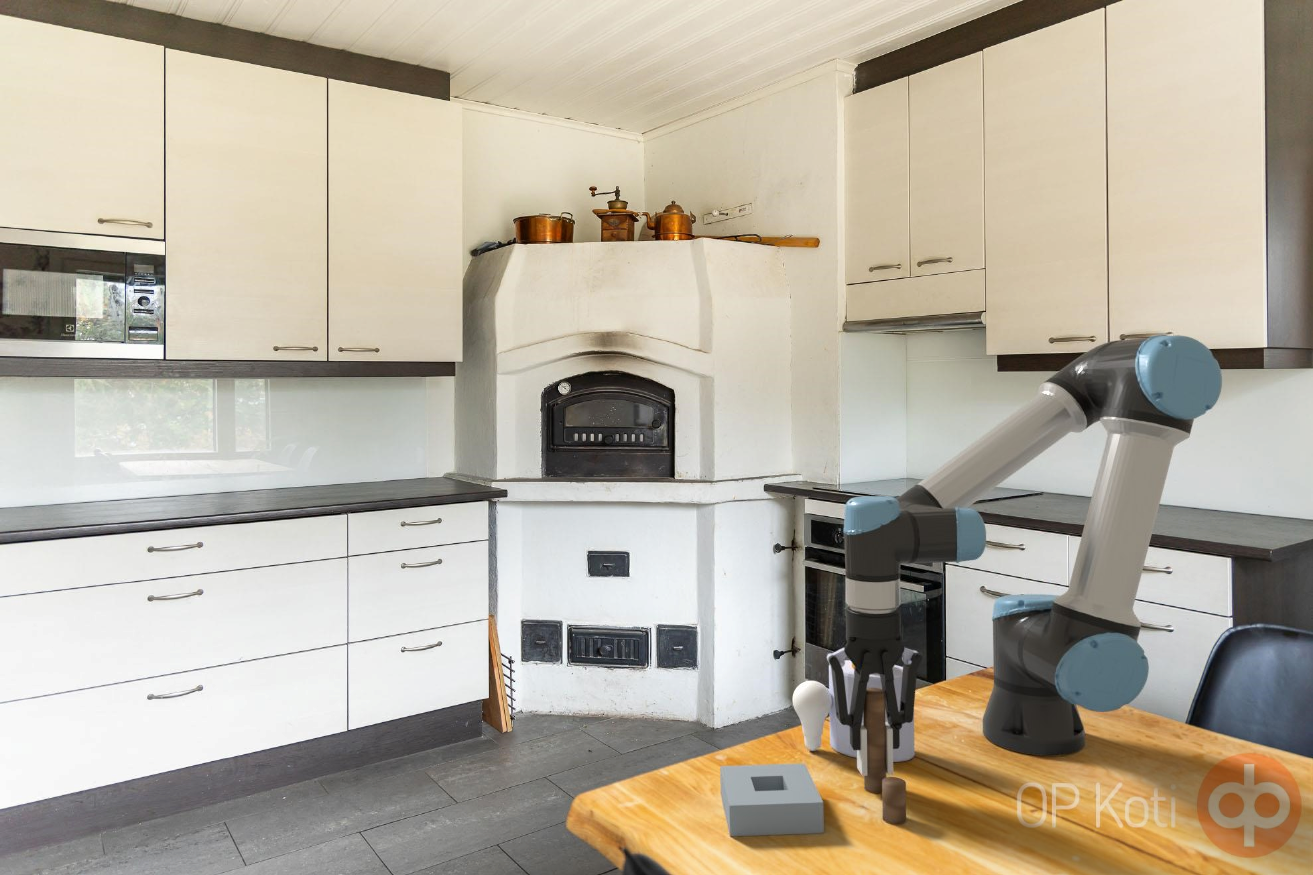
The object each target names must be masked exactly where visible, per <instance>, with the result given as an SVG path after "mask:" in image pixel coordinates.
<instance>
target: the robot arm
mask: <svg viewBox="0 0 1313 875" xmlns="http://www.w3.org/2000/svg"><path fill="white" fill-rule="evenodd" d="M1222 375H1223V374H1222V370H1221V367H1220V364H1219V362H1218V360H1217V359H1216V358H1215V357H1214V355H1213V352H1212V351H1211V350H1210V349H1209V347H1207V346H1206V345H1205V344H1204V343H1203V342H1201V341H1199V340H1198V339H1196V338H1193V337H1190V336H1186V335H1167V334H1156V335H1152V336H1149V337H1141V338H1134V339H1133V338H1132V339H1125V340H1124V339H1123V340H1122V339H1120V340H1111V341H1109V342H1104V343H1102V344H1100V345H1097V346H1095V347H1094V348H1092V349H1090V350H1087V351H1086V352H1084V353H1083V354H1081V355H1080V356H1079V357H1077V358H1076V359H1074V360H1073V361H1071V362H1069V363H1068V364H1067V365H1066V366H1064V367H1063V368H1061V369H1060V370H1059V371H1058V372H1056V373H1054V374H1053V375H1052V376H1051V377H1049V378H1048V379H1047V380H1045V381H1044V382H1043V383H1042V384H1040V385H1039V387H1038V389H1037V390H1038V392H1037V395H1036V396H1034V397H1033V398H1032V399H1031V400H1029V401H1028V402H1026V403H1025V404H1024V405H1022V406H1021V407H1019V408H1018V409H1017V410H1016V411H1014V412H1012V413H1011V414H1010V415H1009V416H1007V417H1006V418H1005V419H1003V420H1002V421H1001V422H999V423H998V424H996V425H995V426H994V427H993V428H991V429H990V430H989V431H987V432H986V433H984V434H983V435H982V436H980V437H978V439H977V440H975V441H974V442H972V443H971V444H970V445H968V446H966V448H965V449H963V450H961V451H960V452H959V453H957V454H955V456H953V457H951V459H950V460H948V461H947V462H945V463H944V464H942V465H941V466H940V467H939V468H937V469H935V470H934V471H932V473H931V474H929V475H928V476H927V477H925V478H924V479H923V480H921V481H919V482H918V483H916V484H915V485H913V486H912V487H910V488H909V489H908V490H906V491H905V492H903V493H902V494H901V495H893V496H882V495H881V496H880V495H878V496H877V495H875V496H874V495H871V496H870V495H865V496H863V495H862V496H856V497H852V498H850V499H849V500H848V501H847V502H846V503H845V508H844V509H845V510H844V517H843V518H844V521H843V536H844V558H845V559H844V561H845V562H844V563H845V604H847V608H846V609H845V639H844V642H843V644H842V648H840V649H838V650H836V651H835V652H832V651H828V652H826V654H825V659H826V660H827V662H828V666H829V665H830V667H831V671H832V681H833V690H834V699H835V709H836V716H837V718H838V720H839V721H840V723H841V724H842V725H848V726H850V744H851V747H852V748H853V750H857V758H856V767H857V770H858V771H859V773H860V774H861V776H862V777H864V776H867V729H866V728H865V727H864V725H863V724H862V718H863V711H864V703H865V696H866V689H867V682H868V681H869V675H870V674H874V673H878V674H879V675H880V678H881V684H882V690H884V691H885V709H886V715H887V719H888V722H885V728H886V775H888V776H893V775H894V762H893V749H898V748H899V746H900V739H899V738H900V733H899V730H900V729H901V728H902V724H904V723H906V722H907V723H910V722H912V721H913V714H914V715H915V699H916V687H917V686H916V685H917V674H918V669H919V667H920V665H921V663H922V661H923V655H922V654H920V653H919V652H918V650H916V649H913V648H912V649H910V648H907V647H905V644H904V642H903V640H902V631H901V630H902V627H901V626H902V624H901V623H902V618H901V615H902V614H901V610H900V609H899V607H900V606H901V565H911V564H930V563H931V564H933V563H937V564H938V563H957V564H959V563H960V562H967V561H976V560H978V559H980V558H981V556H982V555H983V554H984V552H985V550H986V545H987V529H986V526H985V522H984V519H983V517H982V515H981V514H980V513H979V512H978V511H977V510H975V509H973V508H969V507H971V506H972V505H974V503H976V502H977V501H979V500H980V499H981V498H983V497H984V496H985V495H987V494H988V493H989V492H991V491H992V490H994V489H995V488H996V487H997V486H999V485H1000V484H1001V483H1003V482H1004V481H1005V480H1007V479H1009V478H1010V477H1011V476H1013V475H1014V474H1015V473H1017V472H1018V471H1019V470H1021V469H1022V468H1023V467H1024V466H1026V465H1027V464H1029V463H1030V462H1031V461H1032V460H1034V459H1035V458H1037V457H1039V456H1040V455H1041V454H1042V453H1044V452H1045V451H1046V450H1048V449H1049V448H1050V447H1052V446H1054V445H1055V444H1056V443H1057V442H1059V441H1060V440H1062V439H1063V438H1064V437H1066V436H1067V435H1068V434H1070V433H1082V432H1083V431H1085V430H1086V429H1088V428H1089V427H1091V426H1092V425H1093V424H1096V423H1097V422H1100V423H1101V425H1102V426H1103V428H1104V429H1105V431H1106V433H1107V437H1106V440H1105V444H1104V449H1103V451H1102V456H1101V458H1100V459H1101V460H1100V464H1099V468H1098V471H1097V475H1096V479H1095V482H1094V483H1095V484H1094V487H1093V490H1092V495H1091V499H1090V503H1089V507H1088V511H1087V515H1086V518H1085V522H1084V527H1083V529H1082V530H1083V531H1082V534H1081V538H1080V542H1079V545H1078V550H1077V554H1076V558H1075V562H1074V565H1073V569H1072V573H1071V577H1070V582H1069V585H1068V589H1067V591H1066V592H1065V593H1063V594H1061V595H1058V594H1039V593H1037V594H1036V593H1035V594H1034V593H1033V594H1032V593H1031V594H1028V593H1025V594H1010V595H1003V596H999V597H998V598H996V599H995V601H994V603H993V610H992V617H991V621H992V643H993V644H992V651H993V655H992V656H993V659H992V660H993V661H992V662H993V663H992V664H993V687H992V691H991V693H990V697H989V699H988V702H987V704H986V707H985V710H984V713H983V715H982V716H983V717H982V734H983V737H985V738H986V739H987V740H988V741H989V742H991V743H993V744H994V745H996V746H999V747H1001V748H1004V749H1007V750H1010V751H1013V752H1017V753H1020V754H1022V753H1023V754H1026V755H1027V754H1028V755H1035V756H1050V757H1051V756H1054V757H1055V756H1067V755H1072V754H1075V753H1077V752H1079V751H1082V750H1083V749H1084V747H1085V745H1086V730H1085V727H1084V726H1085V725H1083V721H1082V718H1081V715H1080V712H1079V709H1078V707H1080V708H1081V707H1082V708H1084V709H1085V710H1088V711H1092V712H1097V713H1108V712H1113V711H1117V710H1120V709H1122V707H1124V706H1125V705H1128V704H1130V703H1132V702H1133V701H1134V700H1135V699H1136V698H1138V696H1139V695H1140V694H1141V692H1142V691H1143V690H1144V688H1145V686H1146V683H1147V681H1148V677H1149V673H1150V672H1149V668H1150V666H1149V665H1150V664H1149V660H1148V657H1147V656H1146V655H1145V651H1144V648H1143V647H1142V646H1141V645H1140V644H1139V643H1138V640H1139V635H1140V631H1141V628H1142V623H1141V621H1140V619H1139V618H1138V617H1137V615H1136V613H1135V611H1134V605H1135V602H1136V597H1137V594H1138V589H1139V585H1140V581H1141V578H1142V575H1143V571H1144V570H1143V569H1144V567H1145V562H1146V558H1147V554H1148V550H1149V546H1150V542H1151V538H1152V534H1153V531H1154V528H1155V527H1154V526H1155V523H1156V519H1157V515H1158V511H1159V507H1160V503H1161V500H1162V496H1163V492H1164V489H1165V484H1166V480H1167V476H1168V473H1169V468H1170V464H1171V460H1172V457H1173V452H1174V448H1175V447H1176V446H1177V445H1178V444H1180V443H1182V442H1184V441H1186V440H1187V439H1189V438H1190V436H1191V432H1192V428H1193V424H1194V421H1195V419H1197V418H1199V417H1201V416H1203V415H1205V414H1206V413H1207V412H1208V411H1209V410H1212V409H1213V407H1214V406H1215V405H1216V404H1217V402H1218V400H1219V398H1220V396H1221V392H1222V388H1223V377H1222ZM846 658H848V660H850V661H851V662H852V663H853V665H854V666H855V669H854V684H853V691H852V698H851V706H850V713H849V714H848V709H847V700H846V690H845V681H844V673H843V670H842V667H843V666H844V665H845V659H846ZM899 659H901V660H902V663H903V666H902V667H903V673H902V686H901V698H900V711H898V705H897V699H896V693H895V687H894V675H893V669H892V668H893V667H894V665H896V664H897V662H898V661H899ZM1077 706H1078V707H1077Z"/></svg>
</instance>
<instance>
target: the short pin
mask: <svg viewBox="0 0 1313 875" xmlns="http://www.w3.org/2000/svg"><path fill="white" fill-rule="evenodd" d="M906 784H907V782H906V781H905V780H904V779H903V778H899V777H896V776H886V778H884V779H883V780H882V793H881V794H882V795H881V797H882V800H881V801H882V802H881V803H882V810H881V811H882V820H883V821H884V822H885V823H887V824H890V825H894V826H896V825H897V826H899V825H903V824H905V823H906V822H907V785H906Z"/></svg>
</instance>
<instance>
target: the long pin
mask: <svg viewBox="0 0 1313 875" xmlns="http://www.w3.org/2000/svg"><path fill="white" fill-rule="evenodd" d="M863 717H864V727H865V728H866V729H867V776H863V779H864V780H863V782H864V783H863V785H864V787H863V788H864V790H865V791H866V792H868V793H870V794H882V780H883V779H884V778H886V777H887V773H886V728H885V691H884V690H882V689H879V688H867V689H866V696H865V703H864V711H863Z"/></svg>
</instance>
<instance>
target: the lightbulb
mask: <svg viewBox="0 0 1313 875" xmlns="http://www.w3.org/2000/svg"><path fill="white" fill-rule="evenodd" d="M792 705H793V709H794V711H795V712H796V715H797V716H798V718H799V720H800V723H801V727H802V734H803V736H804V739H803V740H804V746H805V748H807V749H809V751H812V752H816V751H817V750H818V749H820V748H821V747H822V735H823V732H824V726H825V723H826V722H825V721H826V719H827V717H829V715H830V709H831V706H832V698H831V694H830V692H829V688H827V687H826V686H825V685H824V684H823V683H821V682H819V681H817V680H806V681H804V682H803V681H802V683H800V684H799V685H798V686H797V687H796V688H795V690H794V691H793V694H792Z"/></svg>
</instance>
